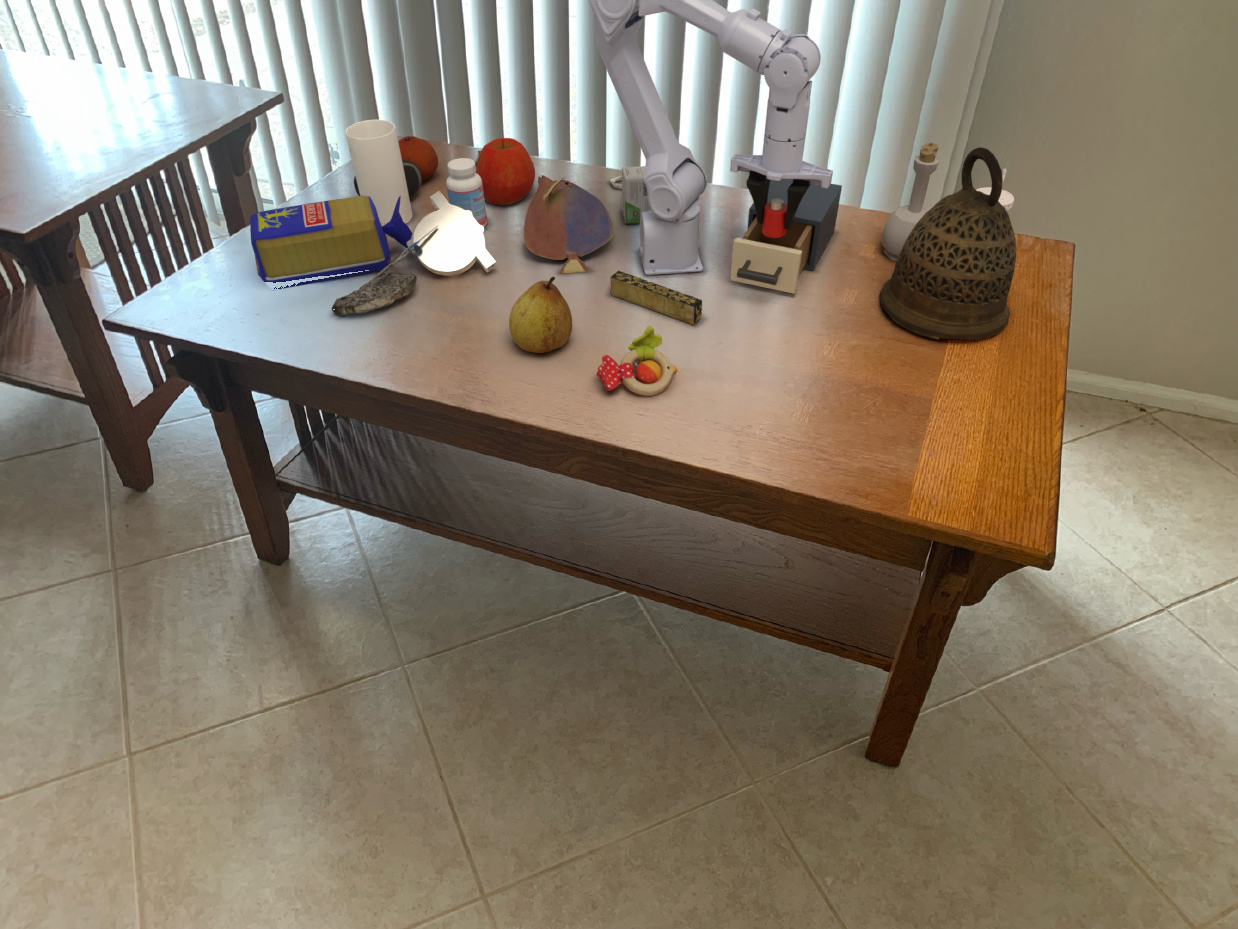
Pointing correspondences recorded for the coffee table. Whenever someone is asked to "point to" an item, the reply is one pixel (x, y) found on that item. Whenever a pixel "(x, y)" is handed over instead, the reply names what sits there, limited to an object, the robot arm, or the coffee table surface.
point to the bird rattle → (639, 367)
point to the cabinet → (810, 213)
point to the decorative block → (656, 297)
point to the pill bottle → (466, 188)
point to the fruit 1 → (419, 154)
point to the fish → (566, 223)
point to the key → (618, 186)
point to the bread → (324, 240)
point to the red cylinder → (774, 218)
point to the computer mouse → (406, 177)
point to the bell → (956, 264)
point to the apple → (505, 171)
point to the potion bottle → (910, 204)
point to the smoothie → (1005, 197)
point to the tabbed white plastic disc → (450, 240)
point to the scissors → (400, 257)
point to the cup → (379, 167)
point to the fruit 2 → (540, 318)
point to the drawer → (772, 257)
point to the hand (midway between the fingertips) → (774, 223)
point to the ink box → (633, 194)
